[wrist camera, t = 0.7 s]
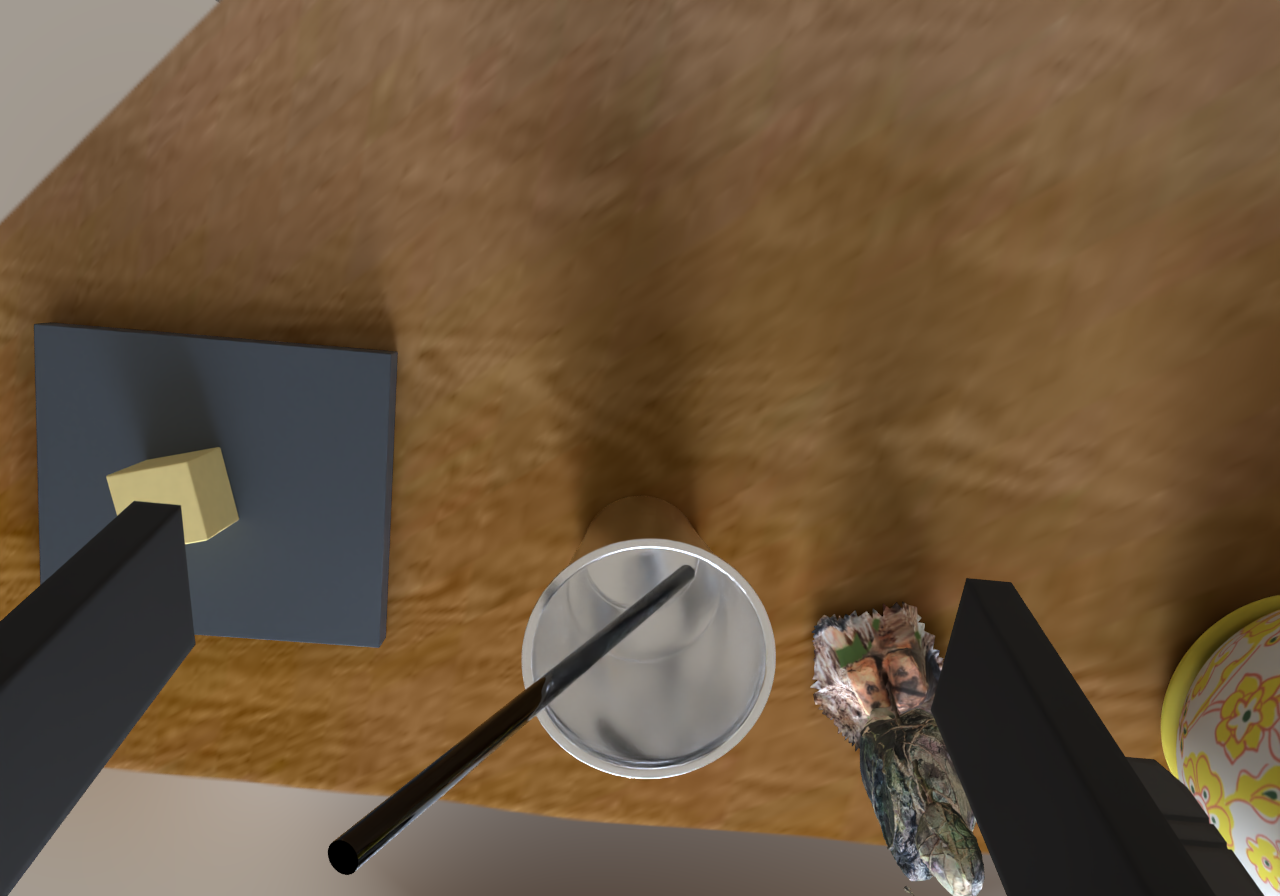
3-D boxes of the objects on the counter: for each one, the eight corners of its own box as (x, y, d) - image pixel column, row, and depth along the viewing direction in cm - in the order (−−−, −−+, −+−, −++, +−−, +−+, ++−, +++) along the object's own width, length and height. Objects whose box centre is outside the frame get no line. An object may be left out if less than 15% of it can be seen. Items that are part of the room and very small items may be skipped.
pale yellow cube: (145, 460, 50) (104, 475, 46) (220, 446, 50) (186, 461, 46) (165, 533, 50) (127, 554, 47) (240, 519, 50) (208, 540, 46)
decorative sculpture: (808, 784, 56) (912, 1064, 36) (807, 598, 54) (918, 787, 34) (947, 778, 56) (1127, 1054, 36) (952, 592, 54) (1145, 776, 34)
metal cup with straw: (486, 529, 52) (315, 857, 23) (657, 415, 51) (710, 603, 22) (598, 682, 54) (573, 1171, 25) (765, 574, 53) (948, 947, 24)
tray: (50, 322, 50) (33, 323, 48) (398, 351, 51) (391, 353, 49) (57, 613, 53) (40, 623, 51) (385, 637, 53) (379, 648, 52)
